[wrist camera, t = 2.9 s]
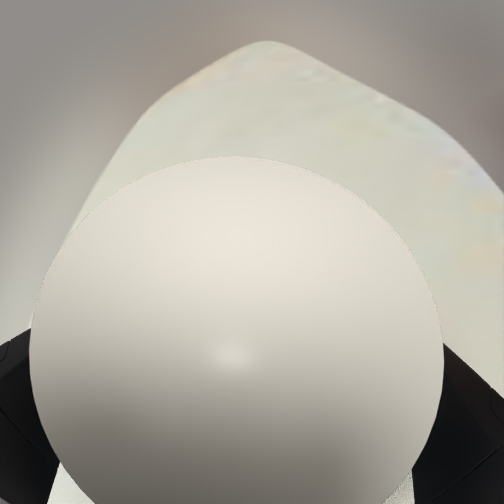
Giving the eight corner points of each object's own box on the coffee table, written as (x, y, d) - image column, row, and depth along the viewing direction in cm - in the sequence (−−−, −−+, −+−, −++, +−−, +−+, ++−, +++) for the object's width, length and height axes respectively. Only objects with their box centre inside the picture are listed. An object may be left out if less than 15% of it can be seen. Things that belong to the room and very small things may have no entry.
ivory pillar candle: (282, 412, 15) (327, 591, 2) (191, 373, 15) (-2, 429, 3) (321, 322, 16) (481, 248, 3) (231, 285, 17) (136, 118, 4)
